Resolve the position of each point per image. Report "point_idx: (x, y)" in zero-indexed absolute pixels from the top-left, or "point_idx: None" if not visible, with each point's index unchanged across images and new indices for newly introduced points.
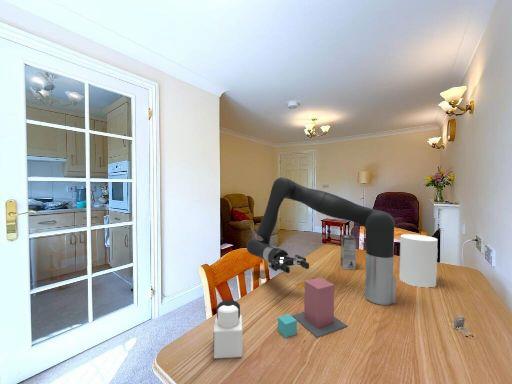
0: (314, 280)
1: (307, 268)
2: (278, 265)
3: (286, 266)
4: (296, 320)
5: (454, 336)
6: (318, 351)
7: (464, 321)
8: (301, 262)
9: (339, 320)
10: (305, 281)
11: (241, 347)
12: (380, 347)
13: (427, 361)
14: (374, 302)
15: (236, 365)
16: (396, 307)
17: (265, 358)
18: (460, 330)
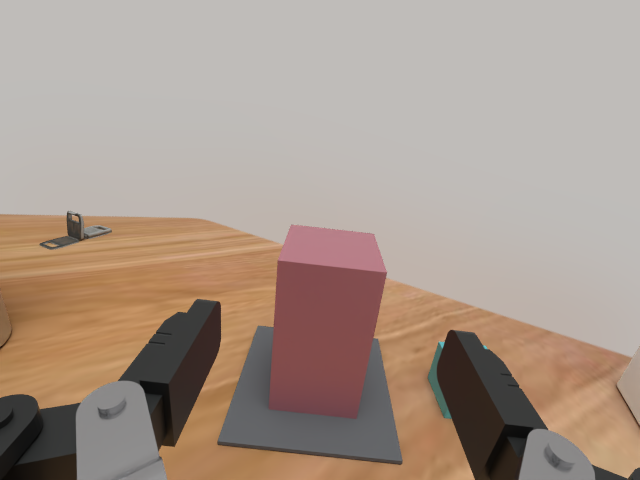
0: (334, 258)
1: (219, 340)
2: (598, 471)
3: (482, 348)
4: (440, 342)
5: (120, 239)
6: (400, 319)
7: (71, 219)
8: (172, 399)
9: (252, 346)
10: (385, 269)
11: (629, 364)
12: (269, 277)
13: (241, 247)
14: (5, 339)
15: (622, 373)
16: (8, 303)
17: (541, 357)
18: (95, 232)
